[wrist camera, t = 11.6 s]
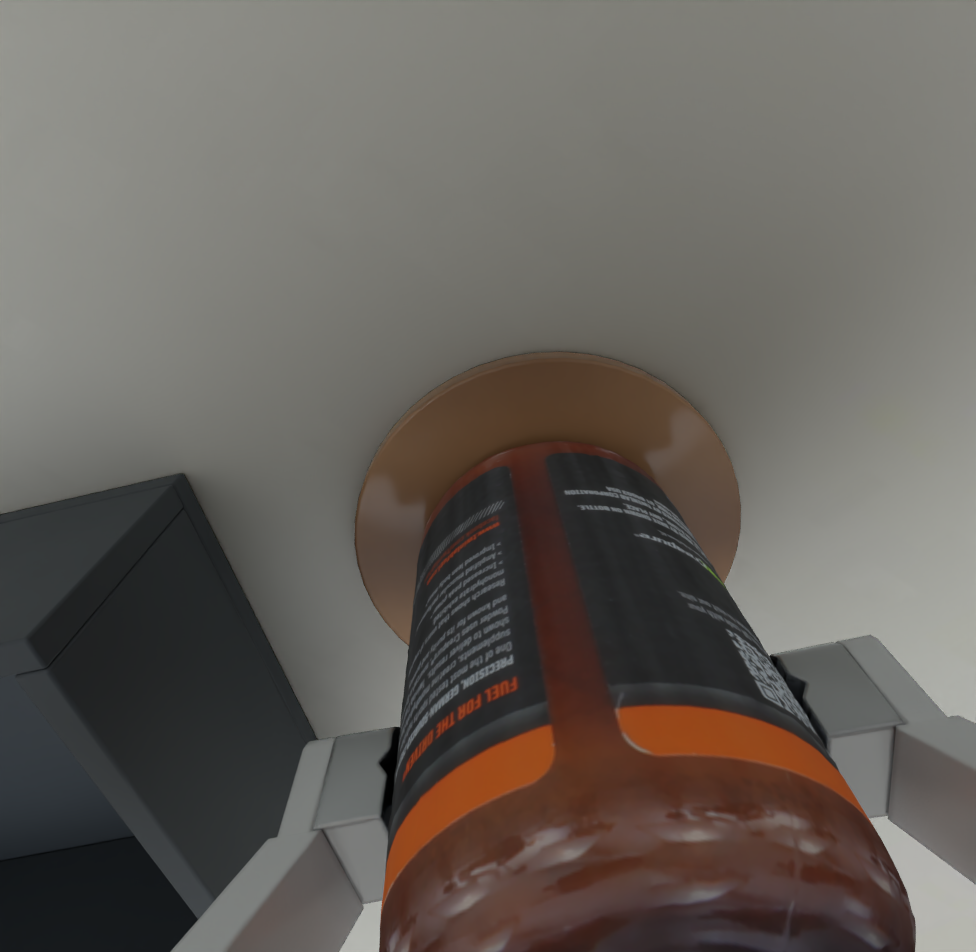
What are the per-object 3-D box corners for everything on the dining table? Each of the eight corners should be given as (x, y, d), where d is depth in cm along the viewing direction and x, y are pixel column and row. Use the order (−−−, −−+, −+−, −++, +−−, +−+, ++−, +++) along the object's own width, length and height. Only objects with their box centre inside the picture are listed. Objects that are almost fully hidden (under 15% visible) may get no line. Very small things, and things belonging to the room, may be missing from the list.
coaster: (302, 404, 13) (295, 413, 13) (720, 306, 13) (731, 311, 12) (417, 701, 17) (415, 718, 17) (741, 639, 17) (750, 654, 16)
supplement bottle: (403, 628, 15) (276, 1513, 5) (444, 406, 13) (356, 1290, 3) (632, 661, 16) (909, 1500, 6) (715, 456, 14) (1446, 1315, 3)
